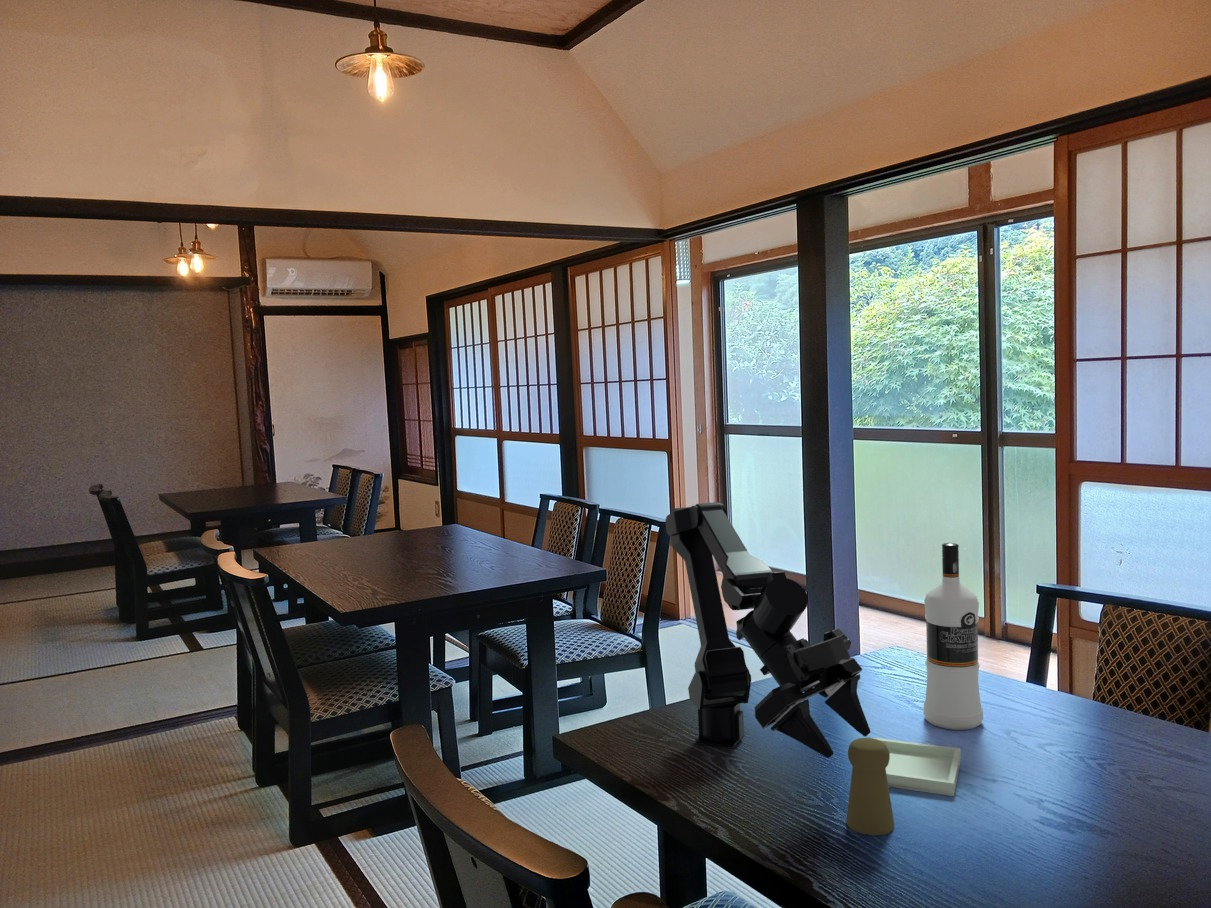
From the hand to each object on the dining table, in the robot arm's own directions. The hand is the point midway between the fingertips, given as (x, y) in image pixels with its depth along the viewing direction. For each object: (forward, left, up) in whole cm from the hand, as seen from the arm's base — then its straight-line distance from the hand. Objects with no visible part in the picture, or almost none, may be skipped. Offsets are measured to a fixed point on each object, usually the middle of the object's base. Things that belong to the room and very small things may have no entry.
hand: (850, 745), depth 118 cm
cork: (+2, -1, -10) cm, 10 cm away
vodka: (+9, +39, -10) cm, 42 cm away
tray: (+5, +17, -10) cm, 21 cm away
